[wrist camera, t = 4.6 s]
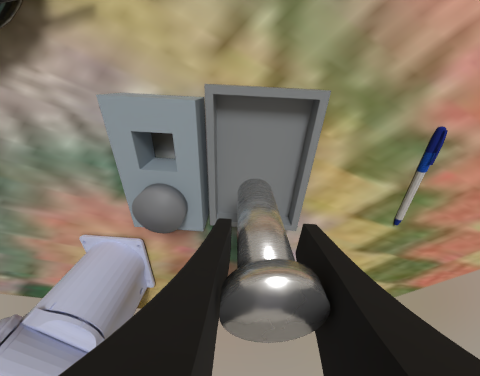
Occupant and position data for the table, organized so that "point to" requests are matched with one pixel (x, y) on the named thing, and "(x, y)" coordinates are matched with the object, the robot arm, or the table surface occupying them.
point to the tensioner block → (160, 169)
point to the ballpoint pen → (422, 170)
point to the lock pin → (268, 276)
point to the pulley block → (8, 10)
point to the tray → (261, 144)
